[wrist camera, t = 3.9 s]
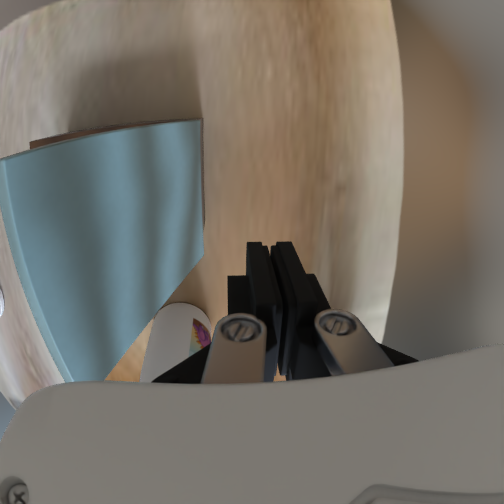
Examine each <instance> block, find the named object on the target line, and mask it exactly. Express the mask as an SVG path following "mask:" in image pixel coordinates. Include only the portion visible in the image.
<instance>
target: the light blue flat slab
mask: <svg viewBox="0 0 504 504" xmlns="http://www.w3.org/2000/svg"><path fill="white" fill-rule="evenodd" d="M0 207H1V212H2V216H3V221H4V225H5V229H6V233H7V237H8V241H9V245H10V249H11V252H12V256H13V259H14V262H15V266H16V269H17V272H18V275H19V278H20V281H21V284H22V287H23V290H24V293H25V295H26V298H27V301H28V303H29V306H30V309H31V311H32V314H33V316H34V318H35V321H36V323H37V326H38V328H39V330H40V332H41V335H42V337H43V339H44V341H45V343H46V346H47V348H48V350H49V352H50V354H51V356H52V358H53V360H54V362H55V364H56V366H57V368H58V370H59V372H60V373H61V375H62V377H63V379H64V381H65V383H67V382H75V381H88V380H96V381H104V380H105V378H106V377H107V376H108V374H109V373H110V372H111V371H112V369H113V368H114V367H115V365H116V364H117V363H118V361H119V360H120V359H121V358H122V356H123V355H124V354H125V352H126V351H127V350H128V348H129V347H130V346H131V345H132V343H133V342H134V341H135V340H136V338H137V337H138V336H139V334H140V333H141V332H142V331H143V329H144V328H145V327H146V326H147V324H148V323H149V322H150V321H151V319H152V318H153V317H154V316H155V314H156V313H157V312H158V311H159V309H160V308H161V307H162V306H163V304H164V303H165V302H166V301H167V299H168V298H169V297H170V296H171V294H172V293H173V292H174V291H175V289H176V288H177V287H178V286H179V285H180V283H181V282H182V281H183V280H184V278H185V277H186V276H187V275H188V274H189V272H190V271H191V270H192V269H193V268H194V266H195V265H196V264H197V263H198V262H199V260H200V259H201V258H202V257H203V256H204V244H203V222H202V195H201V151H200V120H187V121H177V122H168V123H160V124H152V125H144V126H137V127H131V128H124V129H118V130H113V131H107V132H102V133H97V134H92V135H87V136H82V137H77V138H73V139H68V140H64V141H60V142H56V143H52V144H48V145H44V146H41V147H37V148H33V149H30V150H26V151H23V152H20V153H16V154H13V155H10V156H7V157H4V158H1V159H0Z"/></svg>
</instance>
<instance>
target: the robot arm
mask: <svg viewBox="0 0 504 504" xmlns="http://www.w3.org/2000/svg"><path fill="white" fill-rule="evenodd" d="M3 311H4V299H3V294H2V291H1V288H0V316H1V315H2V313H3ZM277 363H278V368H279V373H280V375H285V376H286V381H276V382H273V380H274V376H276V371H277ZM0 504H504V344H494V345H487V346H482V347H478V348H474V349H469V350H465V351H461V352H457V353H454V354H450V355H445V356H441V357H437V358H433V359H428V360H424V361H418V360H416V359H414V358H412V357H410V356H407V355H405V354H403V353H401V352H398V351H396V350H394V349H391V348H389V347H387V346H384V345H382V344H380V343H377V342H376V341H375V339H374V338H373V337H372V336H371V334H370V333H369V332H368V330H367V329H366V328H365V327H364V325H363V324H362V323H361V321H360V320H359V319H358V318H357V317H356V316H355V315H353V314H352V313H350V312H348V311H344V310H340V309H331V307H330V305H329V303H328V301H327V299H326V297H325V295H324V293H323V291H322V289H321V286H320V284H319V282H318V280H317V278H316V276H315V275H314V274H306V273H305V271H304V268H303V266H302V264H301V262H300V260H299V257H298V255H297V253H296V251H295V248H294V246H293V244H292V242H276V246H271V252H270V254H269V250H268V247H267V246H262V242H247V251H246V275H242V276H228V315H227V316H225V317H223V318H222V319H221V320H219V321H218V323H217V325H216V327H215V330H214V334H213V338H212V342H211V343H210V344H208V345H207V346H205V347H204V348H202V349H201V350H199V351H198V352H196V353H194V354H193V355H191V356H190V357H188V358H187V359H185V360H184V361H182V362H180V363H179V364H177V365H176V366H174V367H173V368H171V369H169V370H168V371H166V372H165V373H163V374H161V375H160V376H158V377H157V378H155V379H154V380H153V381H152V382H151V383H150V382H125V381H96V380H88V381H75V382H67V383H62V384H56V385H52V386H48V387H45V388H42V389H40V390H37V391H36V392H34V393H32V394H31V395H30V396H29V397H27V398H26V399H25V400H24V402H23V403H22V404H21V405H20V407H19V408H18V409H17V411H16V412H15V414H14V416H13V417H12V419H11V421H10V423H9V424H8V426H7V428H6V431H5V432H4V435H3V437H2V439H1V441H0Z"/></svg>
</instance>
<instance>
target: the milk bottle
mask: <svg viewBox="0 0 504 504" xmlns="http://www.w3.org/2000/svg"><path fill="white" fill-rule="evenodd" d="M210 343H211V324H210V321H209V319H208V317H207V316H206V314H205V313H204V312H203V311H202V310H200V309H199V308H197V307H195V306H193V305H191V304H187V303H173V304H169V305H167V306H165V307H164V308H162V309H161V310H160V311H159V312H158V313H157V314H156V316H155V319H154V322H153V326H152V329H151V333H150V337H149V341H148V345H147V349H146V353H145V357H144V361H143V366H142V370H141V376H140V381H139V382H150V383H151V382H152V381H153V380H154V379H155V378H157V377H158V376H160V375H161V374H163V373H165V372H166V371H168V370H169V369H171V368H173V367H174V366H176V365H177V364H179V363H180V362H182V361H184V360H185V359H187V358H188V357H190V356H191V355H193V354H194V353H196V352H198V351H199V350H201V349H202V348H204V347H205V346H207V345H208V344H210Z"/></svg>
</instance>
